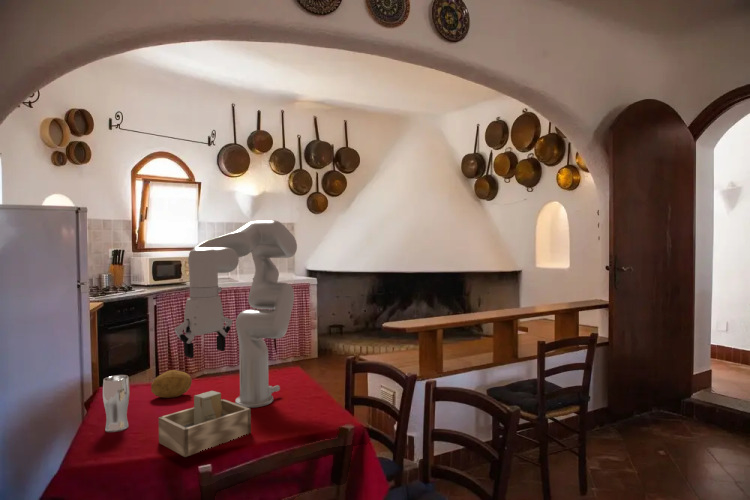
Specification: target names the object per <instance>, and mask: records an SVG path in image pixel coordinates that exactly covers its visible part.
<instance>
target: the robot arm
mask: <svg viewBox="0 0 750 500" xmlns="http://www.w3.org/2000/svg"><path fill="white" fill-rule="evenodd" d="M297 248H298V244H297V240H296V238H295V236H294V235H293V233H291V231H290V230H289V229H288V228H287V227H286V226H285V225H284V224H283V223H282V222H281V221H279V220H275V219H272V220H271V219H269V220H268V219H267V220H252V221H249V222H246V223H245V224H244V225H241V226H240V227H239V228H238V229H236V230H235V231H232V232H229V233H227V234H223V235H220V236H217V237H214V238H210V239H207V240H204V241H203V242H200V243H199V244H198V245H196V246H195V247H194V248H192V249H191V250H190V251H189V253H188V257H187V258H188V259H187V263H188V274H189V278H188V279H189V280H188V281H189V298H186V303H185V309H184V317H183V318H184V320H183V322H182V323H181V324H179V325H178V326H176V327H175V328H174V332H175V334H176V336H177V338H178V339H179V340H181V342H182V343H183V350H184V352H183V353H184V355H185V357H186V358H188V359H192V358H194V355H195V353H194V351H195V350H194V343H192V342H193V340H194V338H195V337H196V336H200V335H209V334H213V333H216V334H217V336H216V350H217V351H221V352H224V351H226V350H225V349H226V337H227V336H228V333H230V331H231V327H232V324H233V319H231V318H229V317H227V316H224V309H223V304H222V299H221V296H219V293H220V292H221V293H222V287H219V275H218V274H228V273H231V272H233V271H235V270H236V269H237V267H238V265H239V262H240V260H239V259H240V258H242V257H245V256H248V255H250V254H251V257H252V261H253V264H254V268H255V271H254V275H253V280H252V282H251V286H250V289H249V293H248V299H247V300H248V301H247V303H248V304H249V306H250V307H251V308H252V309H246V310H243V311H241V312H240V313H239V314H237V317H236V320H235V329H236V333H237V339H238V348H239V349H238V350H239V355H238V356H239V396H237V397H236V398H235V400H234V401H235V402H234V403H236V404H238V405H241V406H244V407H247V408H249V409H251V408H252V409H253V408H259V407H264V406H269V404H271V403H272V402H274V396H273V395H272V394H274V393H275V392H279V391H280V390H281V386H280V385H278V384H277V385H274V386H272V385H270V384H269V349H268V347H267V344H266V342H265V340H264V339H275V340H276V339H282V338H284V336H285V335H286V334H287V331H288V329H289V324H290V320H291V315H292V311H293V307H294V303H295V291H294V288H293V286H292V285H291V284H289V282H280V281H279V275H280V272H279V270H278V268H277V266H276V265H275V263H274V262H273V260H272V259H279V258H280V259H288V258H292V257H293V256H294V255H296V253H297ZM278 281H279V282H278ZM224 325H225V326H224ZM183 331H184V332H183ZM184 333H185V334H184Z"/></svg>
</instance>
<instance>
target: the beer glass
mask: <svg viewBox="0 0 750 500" xmlns="http://www.w3.org/2000/svg"><path fill="white" fill-rule="evenodd" d="M102 382H103V383H102V399H103V400H102V401H103V407H104V409H105V414H106V415H105V416H106V421H105V428H104V429H105V432H106V433H117V432H122V431H125V430H126V429H128V428H129V421H128V415H127V414H128V408H129V407H128V406H129V401H130V381H129V376H128V375H126V374H117V375H111V376H108V377H107V376H106V377H105V378H103V381H102Z"/></svg>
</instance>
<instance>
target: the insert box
mask: <svg viewBox="0 0 750 500" xmlns="http://www.w3.org/2000/svg"><path fill="white" fill-rule="evenodd" d="M251 411H252V409H251V408H247V407H244V406H241V405H238V404H236V403H235V402H232V401H230V400H227V399H225V398H224V399H223V398H221V417H219V418H216V419H213V420H209V421H206V422H203V423H200V424H197V425H194V406H193V407H190V408H186V409H183V410H179V411H176V412H173V413H172V412H171V413H169V414H166V415H161V416H159V417H158V443H159V445H162V446H164V447H166V448H167V449H169V450H170V451H171V450H172V451H173V452H174V453H177V454H178V455H180V456H182V457H184V458H187V457H189V456H193V455H195V454H197V453H198V454H199V453H200V451H201V452H203V451H206V450H208V448H209V449H212V448H214V447H217V446H219V444H220V445H222V443H223V444H225V443H229V442H230V440H231V441H234V440H237V439H239V438H242V437H244V436H243V435H245V436H247V435H249V433H250V434H251V433H252V422H251V421H252V417H251V416H252V414H251ZM246 434H247V435H246ZM241 436H242V437H241ZM238 437H239V438H238ZM233 439H234V440H233ZM211 447H212V448H211ZM205 449H206V450H205ZM202 450H203V451H202Z"/></svg>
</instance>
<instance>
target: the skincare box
mask: <svg viewBox="0 0 750 500" xmlns="http://www.w3.org/2000/svg"><path fill="white" fill-rule="evenodd" d="M221 399H222V393H221V392H219V391H215V390H210V391H206V392H201V393H200V394H195V395H193V407H194V425H197V424H200V423H203V422H206V421H209V420H213V419H216V418H219V417H221Z"/></svg>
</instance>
